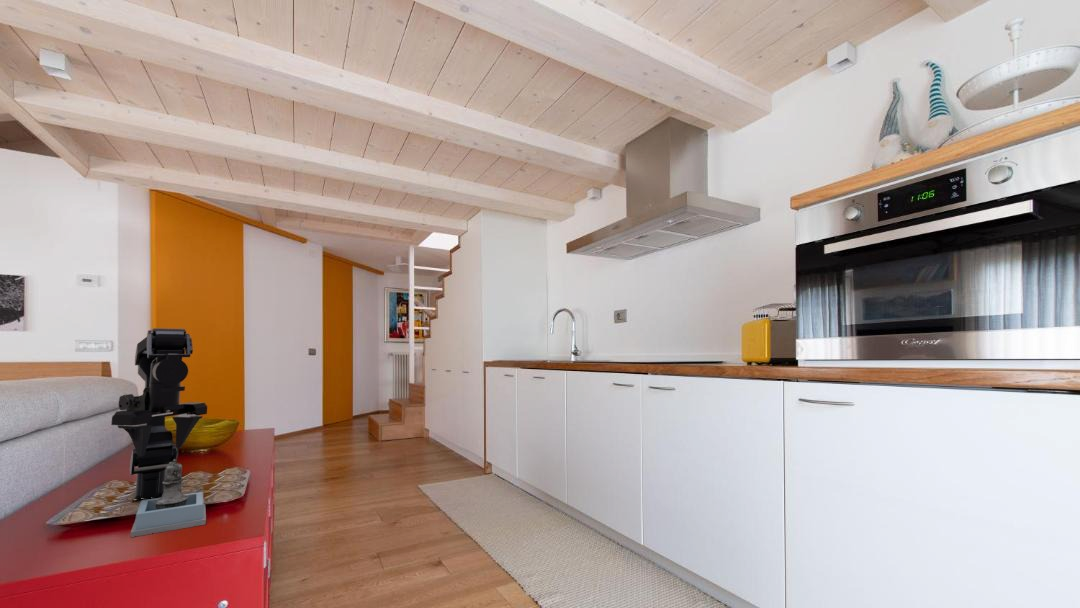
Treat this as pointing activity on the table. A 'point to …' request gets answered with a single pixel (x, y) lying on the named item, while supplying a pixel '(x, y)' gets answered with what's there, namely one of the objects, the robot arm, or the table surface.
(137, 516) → the holder
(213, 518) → the table surface
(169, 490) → the grey stone tall figure
